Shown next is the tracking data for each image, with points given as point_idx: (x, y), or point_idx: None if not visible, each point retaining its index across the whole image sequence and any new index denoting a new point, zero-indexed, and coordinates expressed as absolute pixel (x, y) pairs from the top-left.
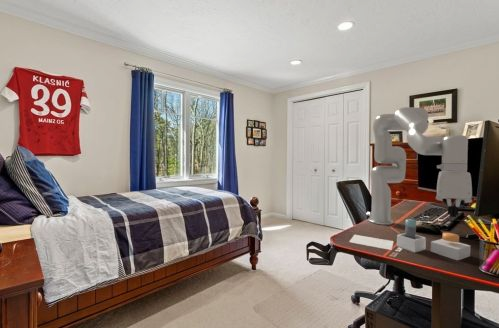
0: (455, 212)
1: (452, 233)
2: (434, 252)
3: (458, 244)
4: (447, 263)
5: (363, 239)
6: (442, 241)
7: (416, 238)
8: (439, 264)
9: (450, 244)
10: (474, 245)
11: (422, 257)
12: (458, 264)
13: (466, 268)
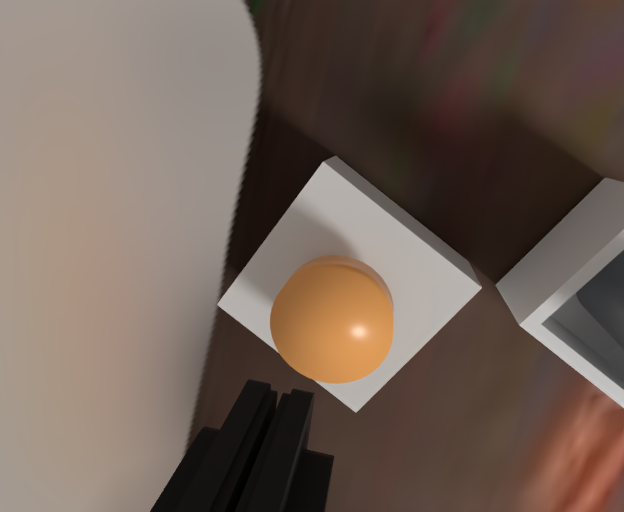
0: (230, 429)
1: (305, 370)
2: (448, 245)
3: None
4: (415, 70)
5: None
6: None
7: (577, 349)
8: (479, 15)
9: None
10: None
11: (565, 116)
12: (348, 88)
13: (319, 31)
